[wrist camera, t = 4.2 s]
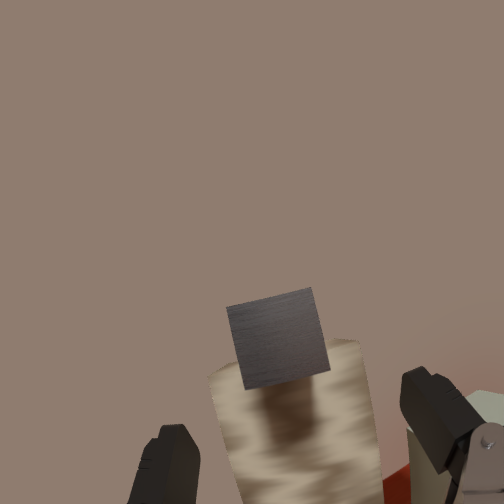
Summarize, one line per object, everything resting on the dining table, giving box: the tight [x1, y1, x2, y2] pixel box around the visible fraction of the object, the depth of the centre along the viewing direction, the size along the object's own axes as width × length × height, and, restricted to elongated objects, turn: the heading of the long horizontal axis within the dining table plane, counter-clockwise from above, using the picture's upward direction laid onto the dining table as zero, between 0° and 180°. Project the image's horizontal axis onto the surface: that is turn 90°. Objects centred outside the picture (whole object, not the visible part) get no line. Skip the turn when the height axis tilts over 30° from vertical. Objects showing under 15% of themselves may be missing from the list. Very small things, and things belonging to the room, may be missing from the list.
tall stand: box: [208, 338, 384, 504], centre depth 21 cm, size 12×10×32 cm
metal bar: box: [226, 287, 331, 391], centre depth 23 cm, size 4×22×4 cm, turn 175°
